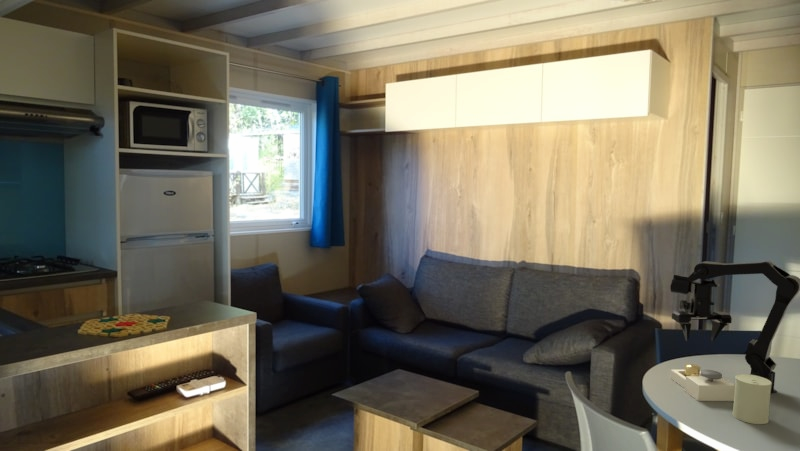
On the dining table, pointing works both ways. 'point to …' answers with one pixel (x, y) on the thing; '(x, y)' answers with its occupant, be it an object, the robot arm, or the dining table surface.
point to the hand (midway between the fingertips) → (699, 340)
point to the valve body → (705, 385)
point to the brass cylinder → (692, 370)
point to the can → (751, 398)
